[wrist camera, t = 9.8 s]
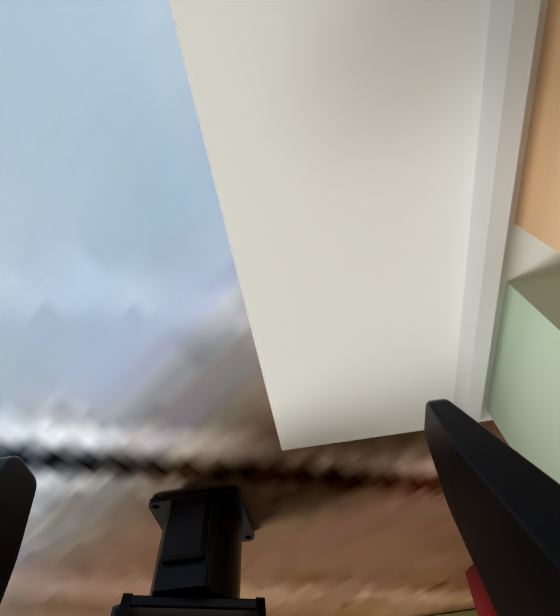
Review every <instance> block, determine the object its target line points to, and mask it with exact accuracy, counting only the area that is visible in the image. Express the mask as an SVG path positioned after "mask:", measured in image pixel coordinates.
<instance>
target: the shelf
mask: <svg viewBox="0 0 560 616" xmlns="http://www.w3.org/2000/svg"><path fill="white" fill-rule="evenodd" d="M548 1H549V0H169V4H170V8H171V12H172V16H173V20H174V24H175V28H176V32H177V36H178V40H179V44H180V48H181V52H182V56H183V60H184V64H185V68H186V72H187V76H188V80H189V84H190V88H191V92H192V96H193V100H194V103H195V107H196V111H197V115H198V119H199V123H200V127H201V131H202V135H203V139H204V143H205V147H206V151H207V155H208V159H209V163H210V167H211V171H212V175H213V179H214V183H215V187H216V191H217V195H218V199H219V203H220V207H221V211H222V215H223V219H224V223H225V227H226V231H227V235H228V239H229V243H230V247H231V250H232V254H233V258H234V262H235V266H236V270H237V274H238V278H239V282H240V286H241V290H242V294H243V298H244V302H245V306H246V310H247V314H248V318H249V322H250V326H251V330H252V334H253V338H254V342H255V346H256V350H257V354H258V358H259V362H260V366H261V370H262V374H263V378H264V382H265V386H266V390H267V393H268V397H269V401H270V405H271V409H272V413H273V417H274V421H275V425H276V429H277V433H278V437H279V441H280V445H281V449H282V451H284V450H290V449H297V448H304V447H311V446H318V445H325V444H332V443H338V442H345V441H352V440H359V439H366V438H373V437H380V436H386V435H393V434H400V433H407V432H414V431H421V430H424V422H425V408H426V403H427V402H428V401H430V400H437V399H447V400H449V401H451V402H452V403H453V404H455V405H456V406H457V407H458V408H460V409H461V410H462V411H464V412H465V413H466V414H468V415H469V416H470V417H472V418H473V419H474V420H476V421H477V422H478V423H479V422H482V421H489V420H493V419H492V418H491V416H490V415H489V413H488V411H487V404H488V397H489V391H490V384H491V378H492V372H493V365H494V359H495V352H496V346H497V339H498V333H499V327H500V320H501V314H502V307H503V301H504V294H505V288H506V282H507V281H512V280H519V279H525V278H531V277H537V276H543V275H549V274H555V273H560V253H558V252H557V251H555V250H554V249H552V248H551V247H549V246H548V245H546V244H545V243H543V242H542V241H540V240H539V239H537V238H536V237H534V236H533V235H531V234H530V233H528V232H527V231H525V230H524V229H522V228H521V227H519V226H518V225H516V224H515V217H516V211H517V204H518V198H519V191H520V185H521V178H522V172H523V165H524V159H525V152H526V145H527V139H528V132H529V126H530V119H531V113H532V106H533V100H534V93H535V87H536V80H537V73H538V67H539V60H540V54H541V47H542V41H543V34H544V28H545V21H546V15H547V8H548Z"/></svg>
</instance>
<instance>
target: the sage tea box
mask: <svg viewBox="0 0 560 616" xmlns="http://www.w3.org/2000/svg"><path fill="white" fill-rule="evenodd" d="M487 411H488V413H489V415H490V416H491V418H492V419H493V421H494V422H495V424H496V426H497V427H498V429H499V430H500V432H501V433H502V435H503V437H504V438H505V440H506V441H507V443H508V444H509V446H510V447H511V448H513V449H514V450H515V451H517V452H518V453H519V454H521V455H522V456H523V457H525V458H526V459H527V460H529V461H530V462H531V463H533V464H534V465H535V466H537V467H538V468H539V469H541V470H542V471H543V472H545V473H546V474H547V475H549V476H550V477H551V478H553V479H554V480H555V481H557V482H558V483H559V484H560V273H555V274H549V275H543V276H537V277H531V278H525V279H519V280H512V281H507V282H506V288H505V294H504V301H503V307H502V314H501V320H500V327H499V333H498V339H497V346H496V352H495V359H494V365H493V372H492V378H491V384H490V391H489V397H488V404H487Z"/></svg>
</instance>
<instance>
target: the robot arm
mask: <svg viewBox="0 0 560 616" xmlns="http://www.w3.org/2000/svg"><path fill="white" fill-rule="evenodd" d="M424 431H425V436H426V440H427V443H428V446H429V449H430V452H431V455H432V458H433V461H434V464H435V467H436V470H437V473H438V477H439V480H440V483H441V486H442V489H443V492H444V495H445V498H446V501H447V504H448V506H449V509H450V511H451V514H452V516H453V518H454V521H455V523H456V525H457V527H458V530H459V532H460V534H461V536H462V538H463V541H464V543H465V545H466V547H467V550H468V552H469V554H470V556H471V558H472V561H473V563H474V565H475V567H476V570H477V572H478V574H479V576H480V578H481V581H482V583H483V585H484V587H485V590H486V592H487V594H488V596H489V598H490V601H491V603H492V605H493V607H494V610H495V612H496V614H497V616H560V484H559V483H558V482H557V481H555V480H554V479H553V478H551V477H550V476H549V475H547V474H546V473H545V472H543V471H542V470H541V469H539V468H538V467H537V466H535V465H534V464H533V463H531V462H530V461H529V460H527V459H526V458H525V457H523V456H522V455H521V454H519V453H518V452H517V451H515V450H514V449H513V448H511V447H510V446H509V445H507V444H506V443H505V442H504V441H502V440H501V439H500V438H498V437H497V436H496V435H494V434H493V433H492V432H490V431H489V430H488V429H486V428H485V427H484V426H482V425H481V424H480V423H478V422H477V421H476V420H474V419H473V418H472V417H470V416H469V415H468V414H466V413H465V412H464V411H462V410H461V409H460V408H458V407H457V406H456V405H455V404H453V403H452V402H451V401H449V400H447V399H437V400H430V401H428V402H427V403H426V408H425V422H424ZM35 491H36V479H35V477H34V475H33V474H32V473H31V471H30V470H29V468H28V467H27V466H26V464H25V463H24V461H23V460H22V459H21V458H20V457H18V456H10V457H2V458H0V604H1V601H2V598H3V596H4V593H5V590H6V588H7V585H8V582H9V580H10V577H11V574H12V571H13V569H14V566H15V563H16V560H17V557H18V553H19V550H20V546H21V543H22V539H23V535H24V532H25V528H26V524H27V521H28V517H29V513H30V510H31V506H32V502H33V499H34V495H35ZM149 509H150V510H151V512H152V514H153V515H154V517H155V519H156V520H157V522H158V524H159V525H160V527H161V529H162V530H163V531H162V536H161V541H160V546H159V551H158V556H157V561H156V566H155V571H154V576H153V581H152V586H151V591H150V595H149V596H142V595H133V593H124V594H123V597H122V600H121V603H120V604H119V605H116V606H114V607H113V609H112V612H111V616H266V608H265V598H261V597H256V599H240V578H241V550H242V542H244V541H250V540H253V539H254V529H253V526H252V523H251V521H250V518H249V515H248V513H247V510H246V507H245V504H244V502H243V499H242V496H241V494H240V491H239V489H238V488H237V487H224V488H217V489H210V490H203V491H196V492H189V493H182V494H175V495H168V496H161V497H154V498H152V499H150V502H149Z"/></svg>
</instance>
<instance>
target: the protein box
mask: <svg viewBox="0 0 560 616" xmlns="http://www.w3.org/2000/svg"><path fill="white" fill-rule="evenodd" d="M433 616H478V614H477V611H476V609H474V610H468V611H461V612H454V613H447V614H440V615H433Z"/></svg>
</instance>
